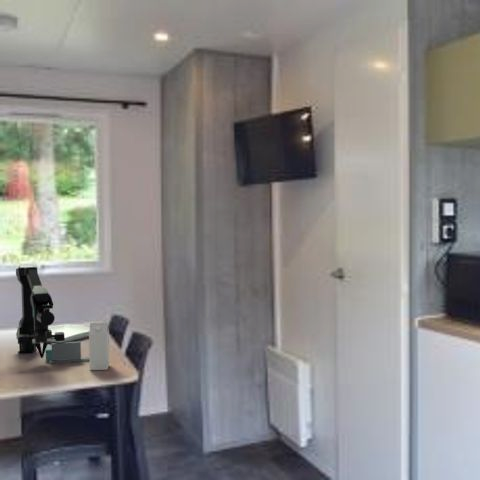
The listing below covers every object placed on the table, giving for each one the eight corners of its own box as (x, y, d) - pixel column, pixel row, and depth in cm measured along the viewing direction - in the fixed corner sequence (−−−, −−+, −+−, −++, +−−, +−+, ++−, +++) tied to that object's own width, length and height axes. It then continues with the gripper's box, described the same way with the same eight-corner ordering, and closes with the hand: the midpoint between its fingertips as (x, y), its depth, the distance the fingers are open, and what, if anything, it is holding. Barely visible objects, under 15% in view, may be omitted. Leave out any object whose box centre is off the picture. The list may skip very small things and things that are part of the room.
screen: (51, 360, 256) (51, 344, 255) (51, 359, 257) (51, 343, 256) (80, 358, 259) (80, 342, 259) (80, 357, 260) (80, 341, 260)
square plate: (101, 335, 310) (101, 328, 309) (59, 346, 287) (59, 338, 286) (65, 329, 324) (65, 322, 324) (23, 339, 301) (22, 332, 301)
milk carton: (92, 365, 252) (91, 321, 250) (109, 365, 252) (108, 320, 251) (89, 370, 245) (88, 324, 243) (107, 370, 245) (106, 324, 244)
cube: (45, 361, 258) (45, 350, 258) (46, 358, 263) (45, 347, 263) (57, 360, 260) (57, 349, 259) (57, 358, 265) (57, 346, 264)
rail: (49, 364, 254) (49, 361, 254) (49, 361, 258) (49, 359, 258) (100, 360, 260) (100, 357, 260) (99, 357, 264) (99, 355, 264)
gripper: (16, 326, 243) (17, 364, 244) (64, 323, 249) (65, 360, 250) (18, 321, 254) (19, 357, 255) (63, 318, 260) (64, 354, 261)
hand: (42, 357), depth 255 cm, fingers closed
